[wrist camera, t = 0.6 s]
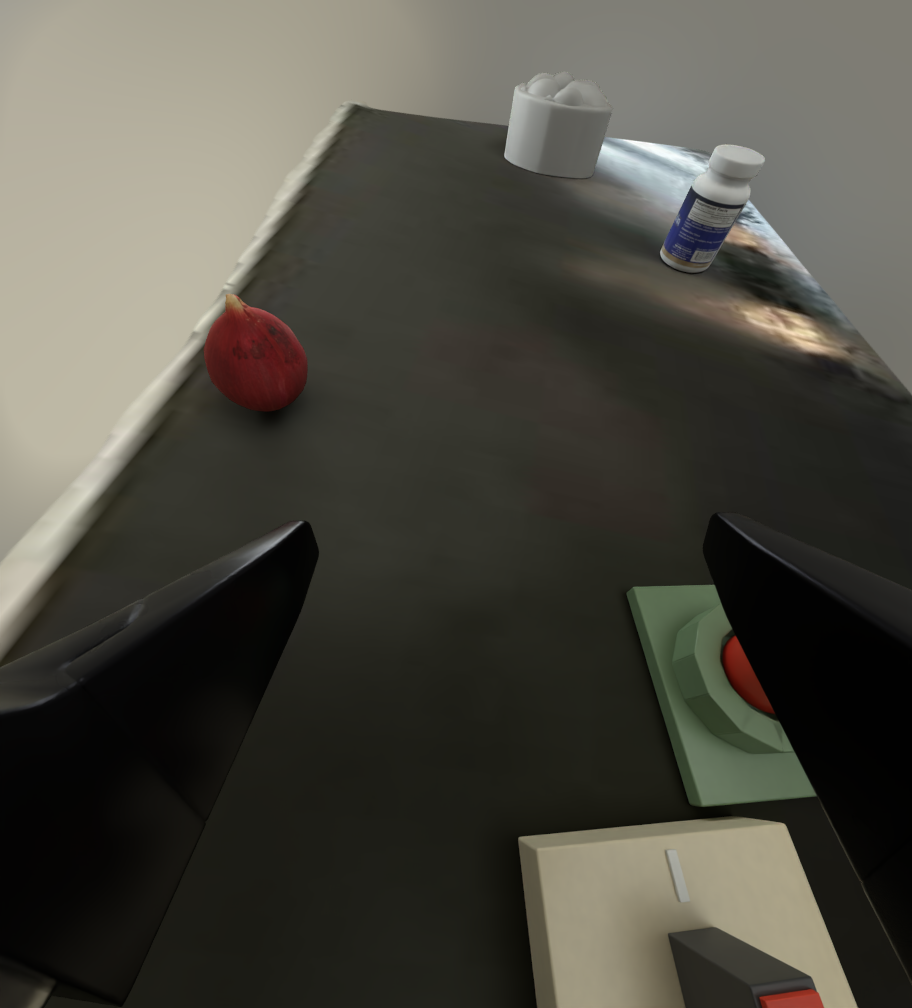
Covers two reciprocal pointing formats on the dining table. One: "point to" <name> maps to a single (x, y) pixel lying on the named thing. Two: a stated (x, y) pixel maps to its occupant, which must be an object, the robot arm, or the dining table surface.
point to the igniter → (710, 703)
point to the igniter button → (743, 676)
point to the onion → (254, 358)
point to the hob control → (665, 908)
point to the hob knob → (736, 974)
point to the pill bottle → (711, 208)
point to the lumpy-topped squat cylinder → (557, 125)
